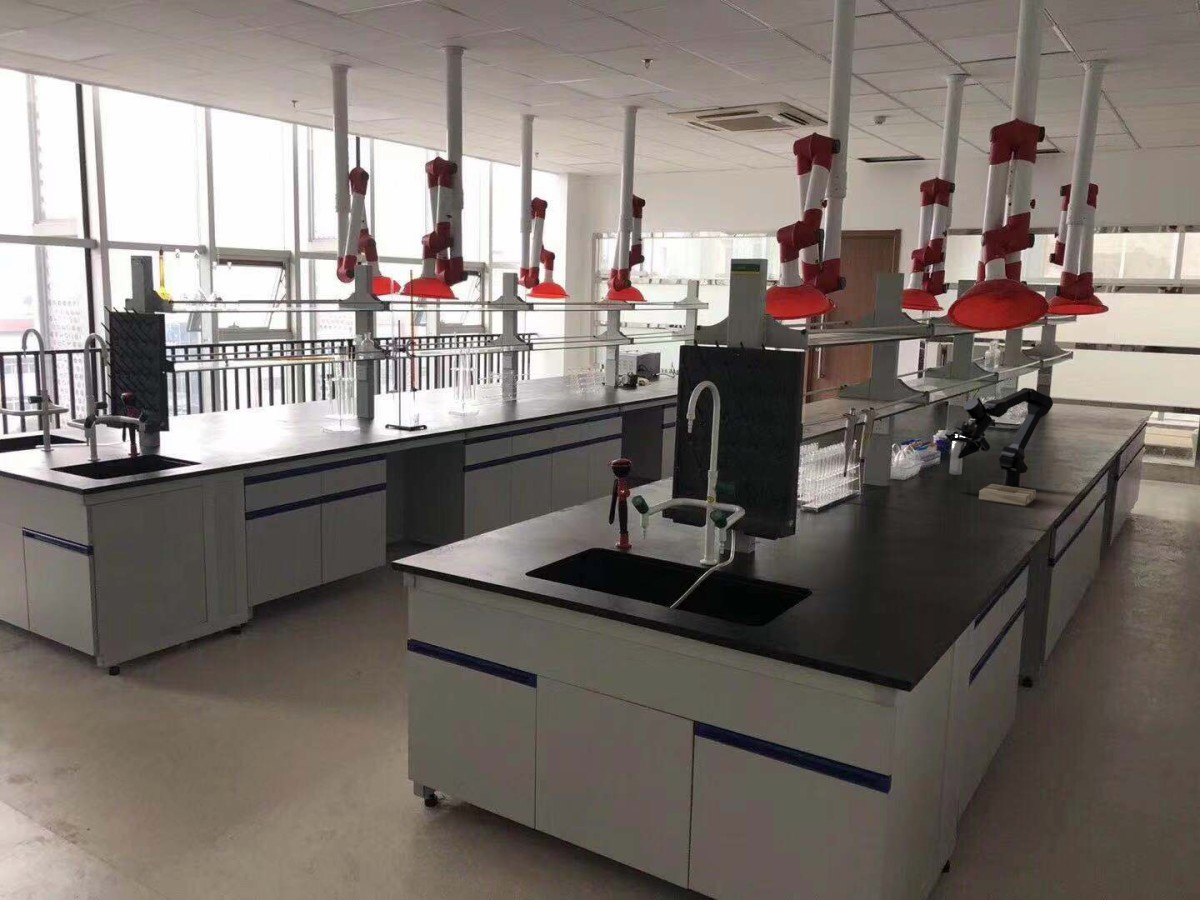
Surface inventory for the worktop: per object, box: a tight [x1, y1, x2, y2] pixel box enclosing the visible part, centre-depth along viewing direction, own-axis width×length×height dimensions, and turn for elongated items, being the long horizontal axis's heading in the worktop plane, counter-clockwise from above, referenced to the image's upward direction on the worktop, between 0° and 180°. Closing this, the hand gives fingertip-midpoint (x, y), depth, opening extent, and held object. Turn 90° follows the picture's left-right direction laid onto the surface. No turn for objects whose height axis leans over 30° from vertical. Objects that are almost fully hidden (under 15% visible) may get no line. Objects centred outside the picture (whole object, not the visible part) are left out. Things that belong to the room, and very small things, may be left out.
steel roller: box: [948, 441, 965, 476], centre depth 356 cm, size 4×4×12 cm
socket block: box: [978, 483, 1037, 508], centre depth 344 cm, size 16×16×4 cm
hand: (954, 456), depth 355 cm, fingers closed on steel roller, 4 cm apart
